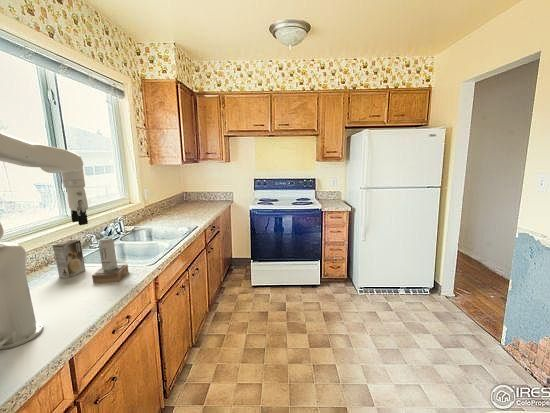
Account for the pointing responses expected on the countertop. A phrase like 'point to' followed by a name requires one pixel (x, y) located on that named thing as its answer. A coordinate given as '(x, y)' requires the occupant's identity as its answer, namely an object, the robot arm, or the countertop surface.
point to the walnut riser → (110, 275)
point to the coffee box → (69, 258)
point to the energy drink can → (107, 254)
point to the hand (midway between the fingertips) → (80, 223)
